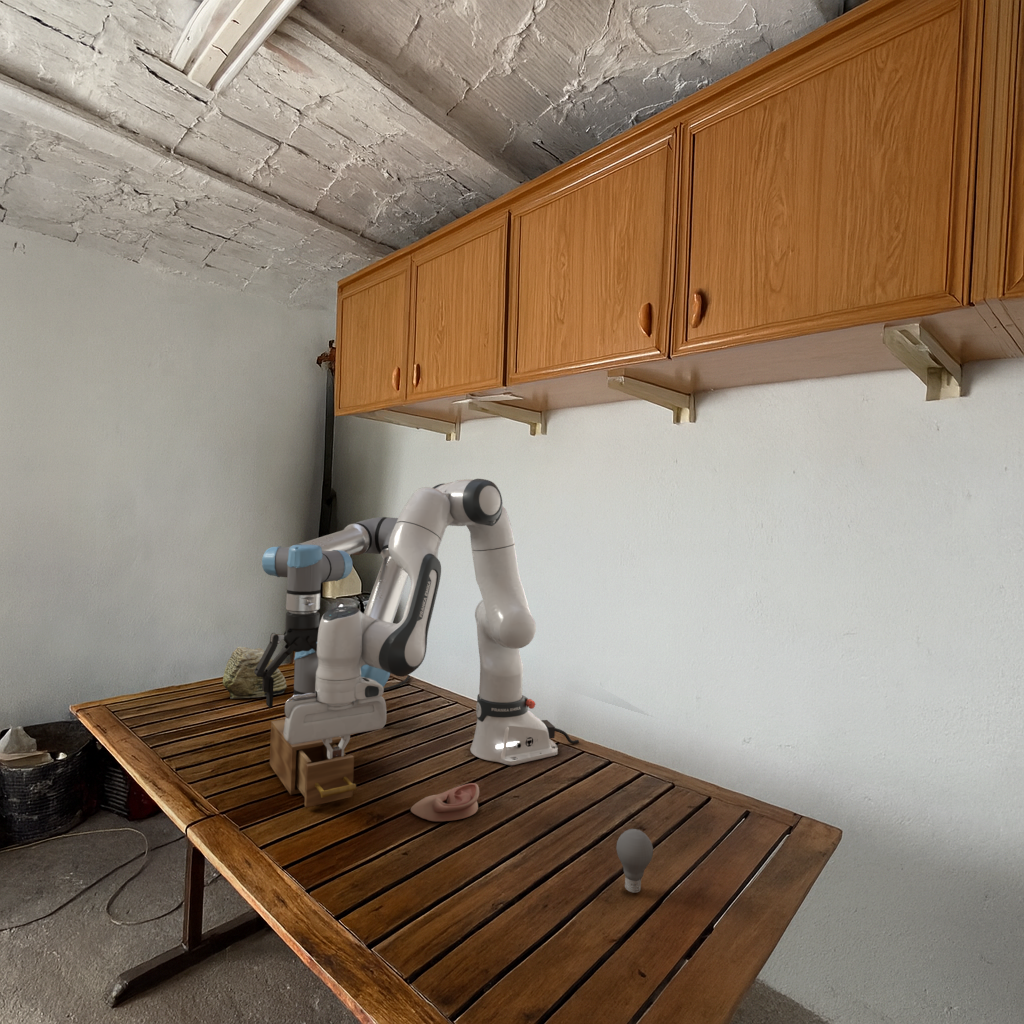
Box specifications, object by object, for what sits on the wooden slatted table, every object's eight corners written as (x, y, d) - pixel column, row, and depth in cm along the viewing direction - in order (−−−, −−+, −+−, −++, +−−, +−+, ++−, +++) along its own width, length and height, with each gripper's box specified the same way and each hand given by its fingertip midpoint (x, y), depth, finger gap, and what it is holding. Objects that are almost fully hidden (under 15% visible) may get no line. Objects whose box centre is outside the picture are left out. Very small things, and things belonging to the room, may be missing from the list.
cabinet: (340, 783, 140) (342, 738, 140) (290, 795, 134) (292, 747, 134) (315, 755, 154) (317, 713, 154) (269, 764, 148) (271, 721, 148)
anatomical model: (405, 797, 126) (424, 773, 137) (404, 817, 126) (424, 792, 138) (469, 807, 124) (484, 782, 135) (468, 827, 124) (483, 800, 135)
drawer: (362, 807, 128) (363, 766, 128) (314, 819, 123) (316, 776, 123) (326, 767, 146) (328, 731, 146) (283, 776, 140) (285, 738, 140)
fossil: (218, 695, 195) (220, 647, 195) (278, 685, 208) (279, 640, 207) (228, 703, 189) (230, 653, 188) (289, 692, 201) (290, 645, 201)
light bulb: (610, 879, 108) (613, 822, 108) (644, 879, 109) (647, 822, 109) (619, 902, 102) (622, 840, 102) (655, 901, 103) (658, 840, 103)
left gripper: (250, 617, 138) (246, 714, 138) (360, 610, 152) (356, 698, 152) (242, 611, 144) (239, 704, 144) (348, 605, 158) (345, 689, 158)
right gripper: (289, 700, 119) (286, 773, 119) (391, 686, 130) (388, 753, 131) (280, 691, 124) (277, 761, 124) (378, 678, 136) (376, 742, 136)
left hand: (299, 701), depth 148 cm, fingers open, 13 cm apart
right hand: (335, 757), depth 127 cm, fingers closed
